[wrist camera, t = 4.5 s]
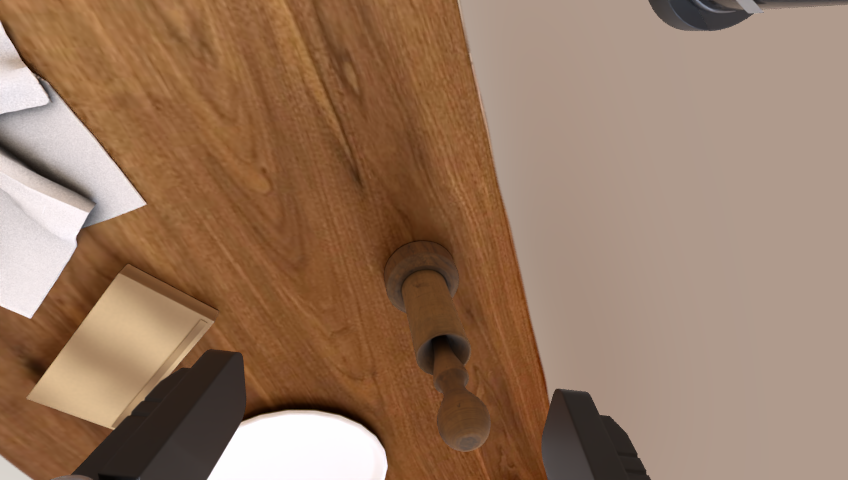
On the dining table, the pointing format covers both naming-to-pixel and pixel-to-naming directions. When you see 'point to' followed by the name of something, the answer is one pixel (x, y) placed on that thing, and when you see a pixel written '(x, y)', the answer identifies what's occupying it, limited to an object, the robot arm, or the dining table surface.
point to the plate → (301, 449)
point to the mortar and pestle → (438, 337)
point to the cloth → (46, 183)
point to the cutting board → (123, 349)
